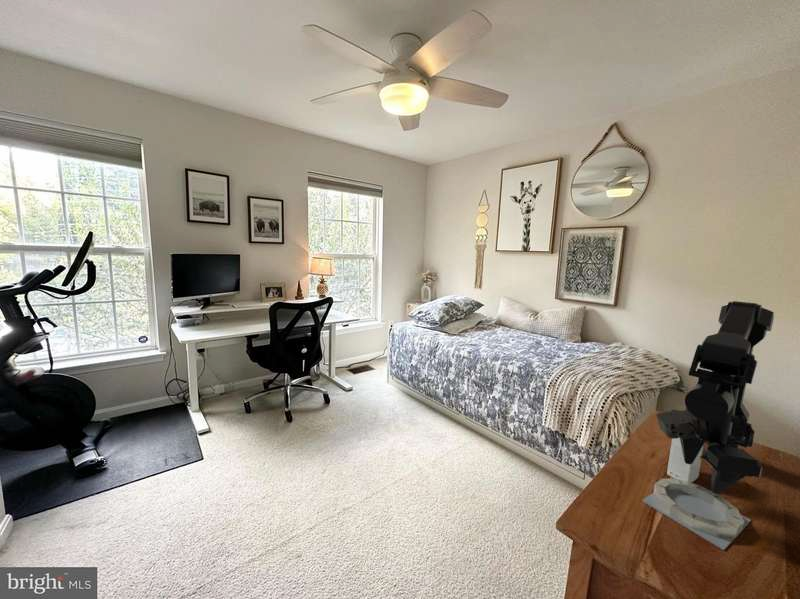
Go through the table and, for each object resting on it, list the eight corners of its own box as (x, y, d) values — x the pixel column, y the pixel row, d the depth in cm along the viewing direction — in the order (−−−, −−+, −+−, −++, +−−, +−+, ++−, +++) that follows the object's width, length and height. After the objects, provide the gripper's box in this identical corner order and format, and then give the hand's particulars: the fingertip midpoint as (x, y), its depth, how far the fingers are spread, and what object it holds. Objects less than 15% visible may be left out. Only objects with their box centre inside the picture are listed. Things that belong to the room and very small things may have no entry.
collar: (671, 479, 76) (672, 472, 76) (750, 520, 65) (752, 512, 64) (642, 499, 70) (643, 490, 69) (725, 548, 58) (727, 538, 58)
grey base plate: (672, 480, 76) (672, 479, 76) (750, 521, 65) (750, 519, 65) (641, 501, 69) (642, 500, 69) (723, 550, 58) (724, 549, 58)
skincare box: (688, 486, 75) (697, 437, 73) (665, 474, 78) (672, 427, 77) (699, 477, 78) (708, 430, 76) (676, 466, 82) (684, 421, 80)
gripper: (645, 381, 75) (636, 444, 77) (692, 421, 57) (678, 501, 59) (704, 389, 72) (692, 453, 74) (773, 433, 54) (754, 516, 56)
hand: (700, 477), depth 66 cm, fingers open, 9 cm apart
